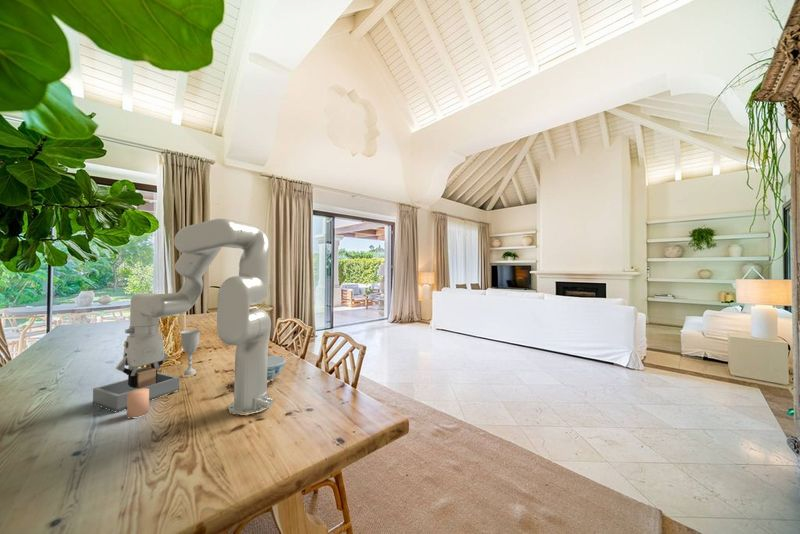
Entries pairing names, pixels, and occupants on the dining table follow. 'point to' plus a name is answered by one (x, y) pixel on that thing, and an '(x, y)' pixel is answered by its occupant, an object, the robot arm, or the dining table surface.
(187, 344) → the chalice
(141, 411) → the terracotta cylinder
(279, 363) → the chinaware
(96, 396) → the tray
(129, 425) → the dining table surface
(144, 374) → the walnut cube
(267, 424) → the dining table surface
